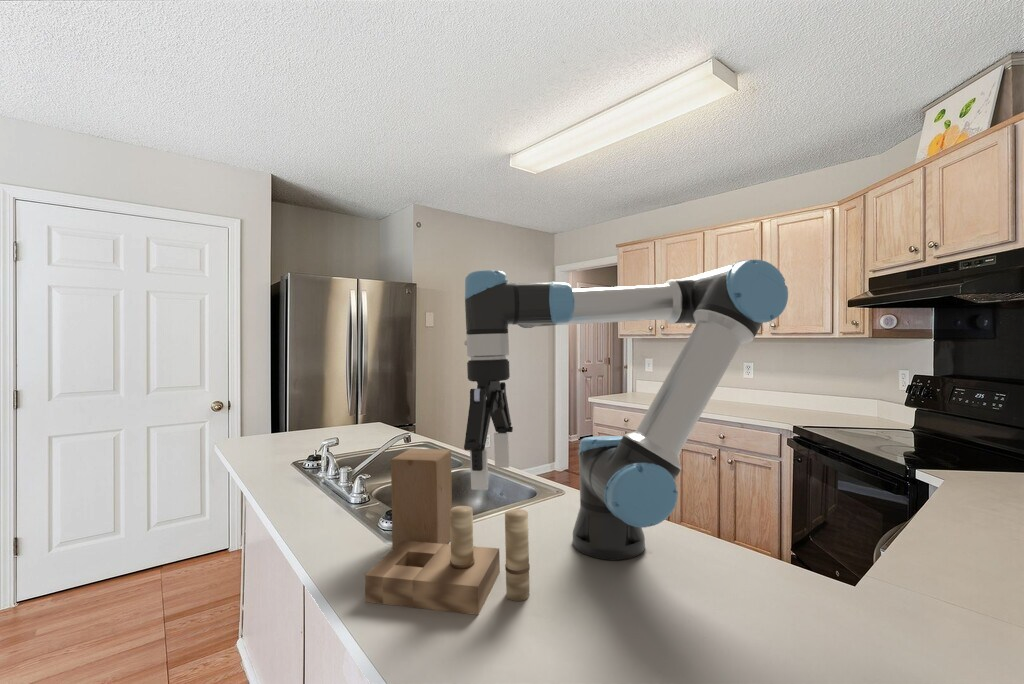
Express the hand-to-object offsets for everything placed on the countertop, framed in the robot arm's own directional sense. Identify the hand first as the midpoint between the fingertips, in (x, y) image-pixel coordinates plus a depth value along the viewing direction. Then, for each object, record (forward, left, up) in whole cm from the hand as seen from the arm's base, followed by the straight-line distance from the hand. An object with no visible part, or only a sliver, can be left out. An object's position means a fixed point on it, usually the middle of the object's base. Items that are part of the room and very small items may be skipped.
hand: (491, 477), depth 81 cm
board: (+10, +2, -20) cm, 22 cm away
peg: (-5, +2, -20) cm, 20 cm away
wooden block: (+19, -13, -20) cm, 31 cm away
